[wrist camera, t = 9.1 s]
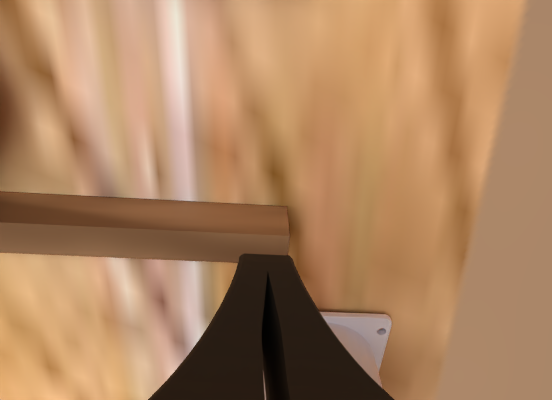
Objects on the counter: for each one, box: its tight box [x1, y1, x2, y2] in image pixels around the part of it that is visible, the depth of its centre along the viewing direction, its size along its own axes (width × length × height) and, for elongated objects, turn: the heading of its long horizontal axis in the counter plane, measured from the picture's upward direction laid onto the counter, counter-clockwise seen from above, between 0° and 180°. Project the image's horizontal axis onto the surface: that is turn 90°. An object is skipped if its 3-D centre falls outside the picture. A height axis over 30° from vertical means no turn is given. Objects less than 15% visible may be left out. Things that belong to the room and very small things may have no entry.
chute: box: [0, 192, 290, 263], centre depth 18 cm, size 14×23×4 cm, turn 85°
